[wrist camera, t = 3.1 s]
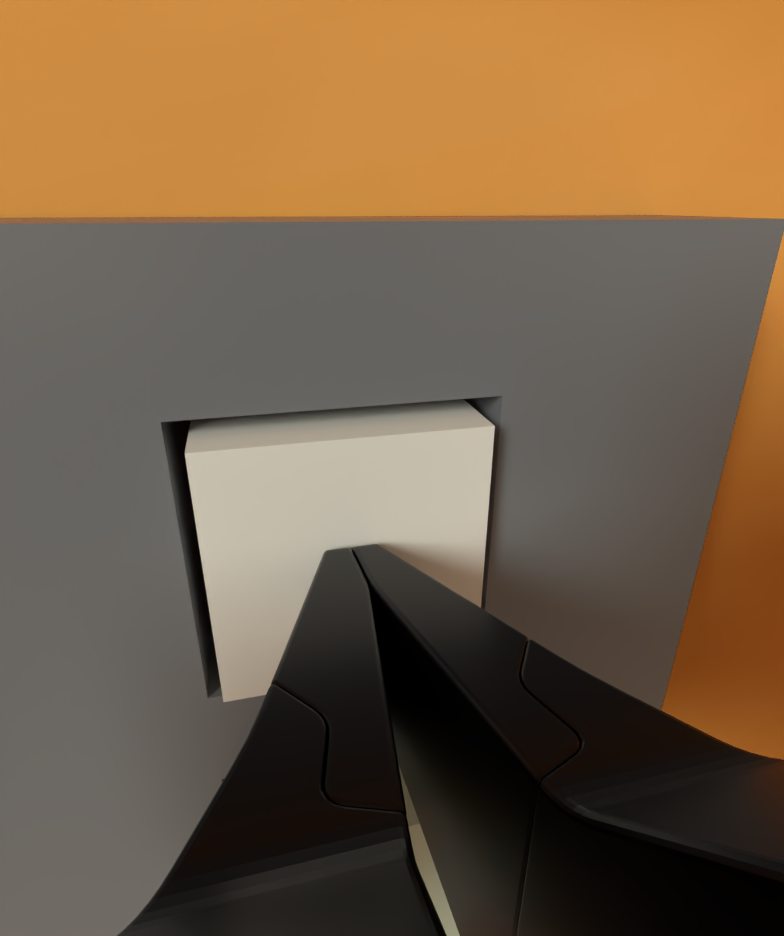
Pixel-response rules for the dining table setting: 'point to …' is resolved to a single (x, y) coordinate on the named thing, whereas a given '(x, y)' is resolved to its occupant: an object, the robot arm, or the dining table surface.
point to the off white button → (329, 512)
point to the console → (319, 388)
